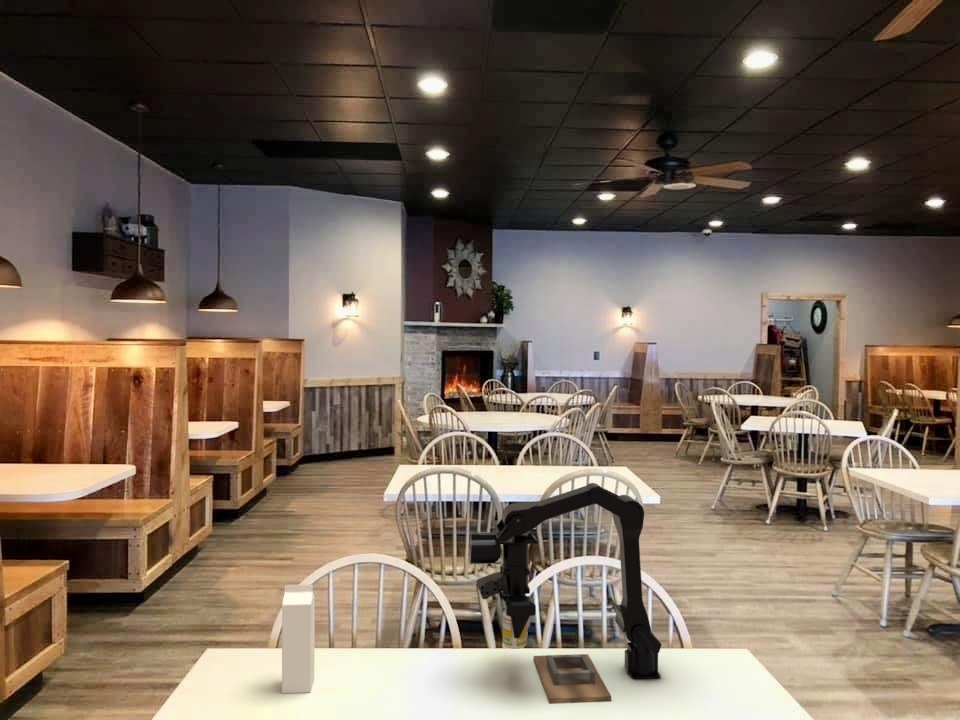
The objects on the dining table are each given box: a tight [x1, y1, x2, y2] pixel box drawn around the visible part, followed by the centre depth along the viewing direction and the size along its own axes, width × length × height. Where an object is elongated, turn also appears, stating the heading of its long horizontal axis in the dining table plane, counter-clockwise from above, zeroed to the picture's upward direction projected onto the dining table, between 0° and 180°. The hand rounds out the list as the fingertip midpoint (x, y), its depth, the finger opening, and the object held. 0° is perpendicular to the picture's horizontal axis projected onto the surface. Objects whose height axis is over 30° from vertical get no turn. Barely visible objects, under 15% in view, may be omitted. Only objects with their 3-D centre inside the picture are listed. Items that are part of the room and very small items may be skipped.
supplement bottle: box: [502, 609, 528, 650], centre depth 157 cm, size 5×5×10 cm
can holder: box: [532, 653, 612, 704], centre depth 157 cm, size 13×20×4 cm, turn 5°
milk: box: [281, 584, 316, 694], centre depth 152 cm, size 6×6×22 cm
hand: (514, 632), depth 157 cm, fingers closed on supplement bottle, 5 cm apart
